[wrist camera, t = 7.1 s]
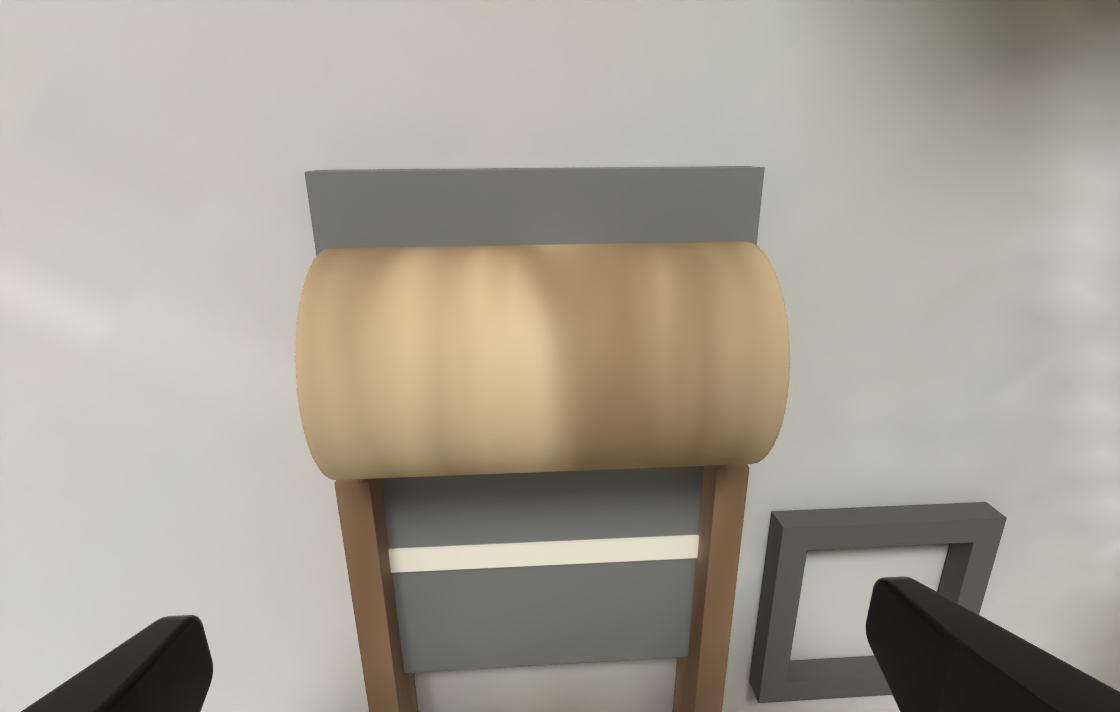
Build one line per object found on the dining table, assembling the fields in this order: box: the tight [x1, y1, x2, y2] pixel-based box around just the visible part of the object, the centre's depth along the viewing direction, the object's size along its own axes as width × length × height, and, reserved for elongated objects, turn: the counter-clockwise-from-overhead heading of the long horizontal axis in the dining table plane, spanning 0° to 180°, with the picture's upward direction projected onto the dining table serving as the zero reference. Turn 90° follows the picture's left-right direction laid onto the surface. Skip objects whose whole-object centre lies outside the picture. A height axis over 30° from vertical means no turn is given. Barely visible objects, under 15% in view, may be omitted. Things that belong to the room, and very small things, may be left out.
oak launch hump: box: [295, 241, 790, 480], centre depth 13 cm, size 9×5×5 cm, turn 90°
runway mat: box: [305, 166, 764, 673], centre depth 16 cm, size 10×14×1 cm
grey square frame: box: [749, 502, 1006, 703], centre depth 18 cm, size 7×7×1 cm
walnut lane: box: [335, 464, 749, 712], centre depth 17 cm, size 11×15×3 cm
